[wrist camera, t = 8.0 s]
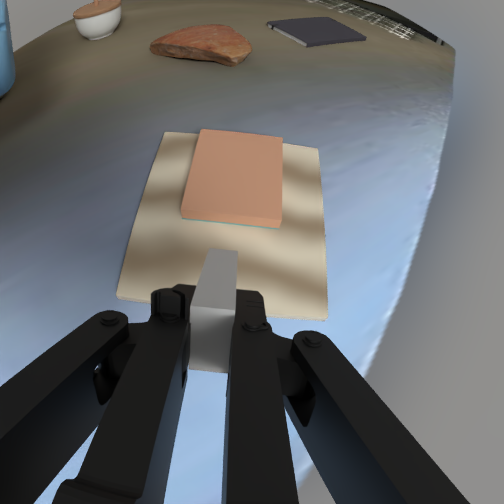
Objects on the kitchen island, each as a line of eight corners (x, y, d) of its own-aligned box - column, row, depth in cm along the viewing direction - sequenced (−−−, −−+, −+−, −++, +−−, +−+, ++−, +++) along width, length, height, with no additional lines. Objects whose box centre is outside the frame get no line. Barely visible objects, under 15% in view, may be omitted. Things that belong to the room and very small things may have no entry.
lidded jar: (76, 36, 50) (70, 4, 42) (118, 22, 53) (115, -11, 45) (81, 49, 46) (74, 12, 38) (129, 33, 50) (125, -4, 42)
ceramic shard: (183, 54, 36) (146, 38, 43) (192, 90, 42) (154, 67, 49) (265, 26, 40) (216, 13, 46) (268, 59, 45) (220, 40, 52)
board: (324, 321, 27) (327, 317, 26) (119, 299, 25) (115, 295, 25) (315, 154, 36) (317, 148, 35) (165, 138, 35) (165, 132, 34)
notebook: (305, 49, 51) (365, 42, 59) (307, 43, 50) (366, 37, 58) (264, 27, 55) (326, 21, 63) (265, 21, 54) (328, 16, 61)
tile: (281, 220, 28) (282, 137, 33) (180, 209, 27) (201, 128, 32) (278, 229, 29) (280, 147, 34) (182, 219, 29) (201, 139, 34)
